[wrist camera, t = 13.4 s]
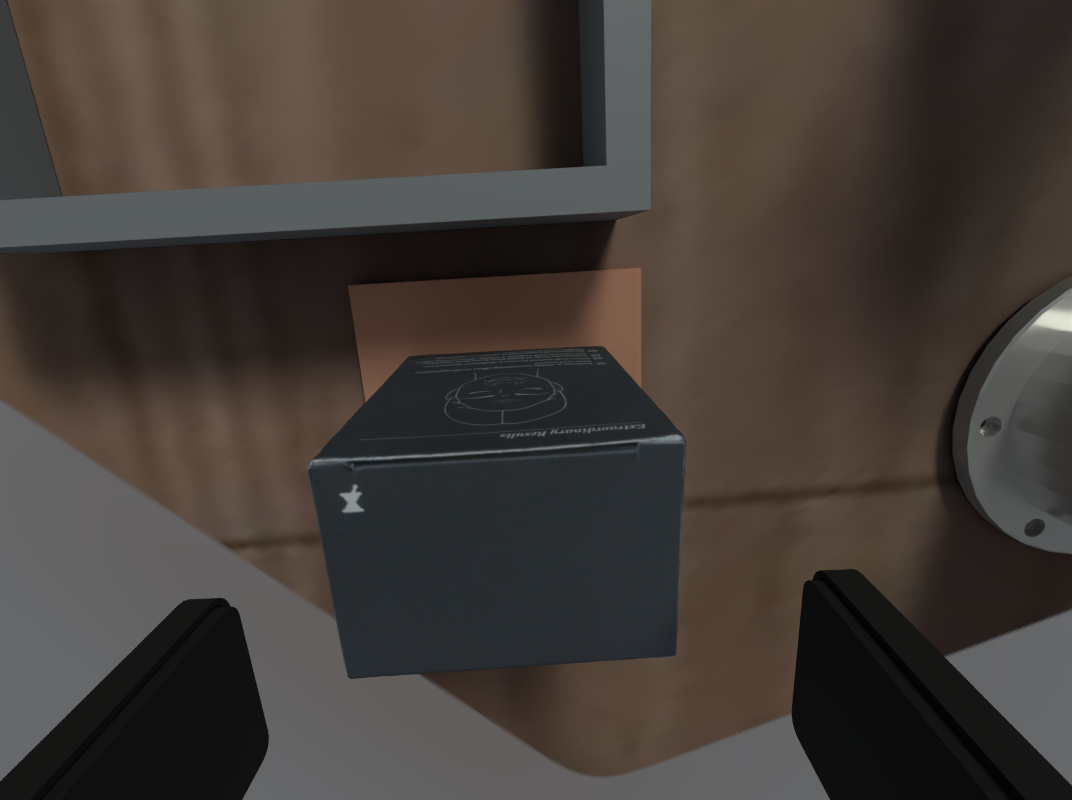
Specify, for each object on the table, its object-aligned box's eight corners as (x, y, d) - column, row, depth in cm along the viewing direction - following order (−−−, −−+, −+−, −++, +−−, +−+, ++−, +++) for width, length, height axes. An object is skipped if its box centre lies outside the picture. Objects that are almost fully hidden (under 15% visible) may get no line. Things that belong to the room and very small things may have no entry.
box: (422, 486, 22) (339, 688, 12) (407, 353, 21) (296, 454, 10) (610, 476, 22) (684, 668, 12) (609, 342, 21) (693, 433, 11)
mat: (638, 267, 21) (641, 268, 20) (638, 523, 24) (641, 529, 23) (352, 284, 20) (347, 285, 20) (390, 538, 24) (387, 546, 23)
